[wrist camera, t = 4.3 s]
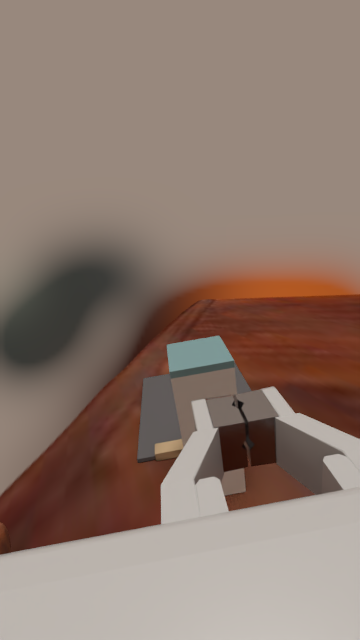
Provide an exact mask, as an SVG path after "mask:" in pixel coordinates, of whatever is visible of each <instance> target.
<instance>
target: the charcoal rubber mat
mask: <svg viewBox="0 0 360 640" xmlns="http://www.w3.org/2000/svg"><path fill="white" fill-rule="evenodd" d="M234 365H235V376H236V388H237V394H240V393H245V392H250V391H251V389H250V388H249V386H248V384H247V383H246V381H245V379H244V377H243V376H242V374H241V372H240V371H239V369H238V367H237V366H236V364H235V362H234ZM179 439H182V437H181V431H180V426H179V420H178V415H177V410H176V404H175V399H174V394H173V388H172V383H171V377H170V374H166V375H161V376H155V377H149V378H144V379H143V392H142V405H141V418H140V431H139V443H138V456H137V460H138V463H139V462H145V461H150V460H155V459H156V457H155V444H157V443H163V442H168V441H173V440H179Z"/></svg>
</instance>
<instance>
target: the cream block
mask: <svg viewBox="0 0 360 640" xmlns="http://www.w3.org/2000/svg"><path fill="white" fill-rule="evenodd" d="M167 352H168V362H169V372H170V377H171V383H172V388H173V394H174V399H175V404H176V410H177V415H178V420H179V426H180V431H181V437H182V442H183V447H184V446H185V444H186V443H187V441H188V439H189V438H190V436H191V435H192V433H193V432H195V425H194V419H193V412H192V405H191V401H194V400H200V399H206V398H213V397H219V396H226V395H232V396H233V395H234V394H237V388H236V376H235V365H234V360H233V358H232V356H231V355H230V353H229V351H228V350H227V348H226V346H225V344H224V343H223V341H222V339H221V338H220V336H214V337H209V338H203V339H197V340H191V341H186V342H180V343H174V344H168V345H167ZM221 485H222V489H223V493H224V496H225V495H231V494H236V493H241V492H246V487H245V476H244V468H241V469H237V470H232V471H228V472H224V475H223V479H222V482H221Z"/></svg>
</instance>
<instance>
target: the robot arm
mask: <svg viewBox="0 0 360 640" xmlns="http://www.w3.org/2000/svg"><path fill="white" fill-rule="evenodd" d="M191 405H192V412H193V419H194V425H195V432H193V433H192V435H191V436H190V438H189V439H188V441H187V443H186V444H185V446H184V448H183V449H182V451H181V453H180V454H179V456H178V458H177V459H176V461H175V463H174V464H173V466H172V467H171V469H170V471H169V472H168V474H167V476H166V477H165V479H164V481H163V482H162V484H161V524H160V525H155V526H150V527H144V528H139V529H134V530H128V531H123V532H118V533H112V534H107V535H102V536H97V537H91V538H86V539H81V540H75V541H70V542H65V543H60V544H54V545H49V546H44V547H38V548H33V549H28V550H22V551H17V552H12V553H6V554H1V555H0V640H360V439H358V438H355V437H353V436H351V435H349V434H346V433H344V432H342V431H339V430H337V429H335V428H333V427H330V426H328V425H326V424H323V423H321V422H319V421H317V420H314V419H312V418H310V417H307V416H305V415H303V414H301V413H297V414H295V412H294V411H293V410H292V409H291V407H290V406H289V405H288V404H287V402H286V401H285V400H284V398H283V397H282V396H281V395H280V393H279V392H278V391H277V389H276V388H275V387H269V388H264V389H260V390H256V391H250V392H245V393H240V394H234V395H233V396H232V395H226V396H219V397H213V398H206V399H200V400H194V401H191ZM247 457H248V459H249V462H250V464H251V466H258V465H264V464H271V463H277V465H279V466H280V467H281V468H283V469H284V470H285V471H286V472H288V473H289V474H290V475H291V476H293V477H294V478H295V479H297V480H298V481H299V482H300V483H302V484H303V485H304V486H305V487H307V488H308V489H309V490H310V491H312V492H313V493H314V494H316V495H313V496H308V497H303V498H297V499H292V500H287V501H282V502H276V503H271V504H266V505H260V506H255V507H250V508H245V509H239V510H234V511H228V507H227V504H226V500H225V496H224V493H223V489H222V485H221V482H222V479H223V475H224V472H228V471H232V470H237V469H241V468H246V467H248V460H247Z"/></svg>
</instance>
